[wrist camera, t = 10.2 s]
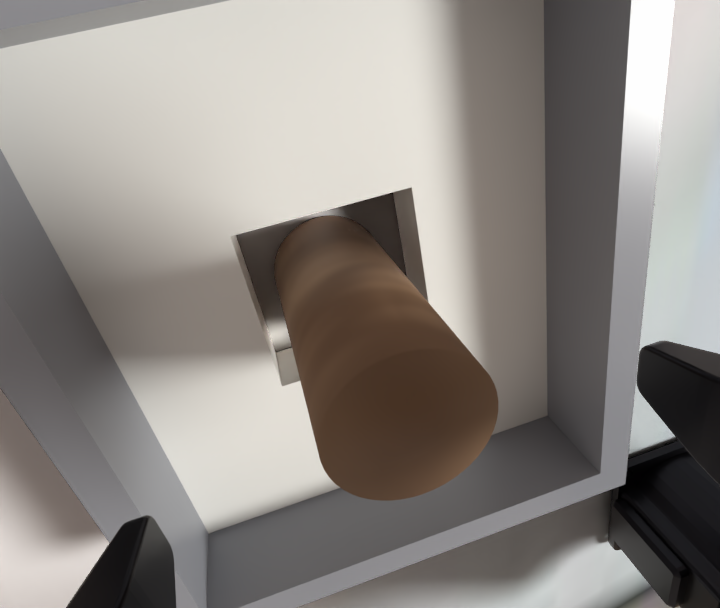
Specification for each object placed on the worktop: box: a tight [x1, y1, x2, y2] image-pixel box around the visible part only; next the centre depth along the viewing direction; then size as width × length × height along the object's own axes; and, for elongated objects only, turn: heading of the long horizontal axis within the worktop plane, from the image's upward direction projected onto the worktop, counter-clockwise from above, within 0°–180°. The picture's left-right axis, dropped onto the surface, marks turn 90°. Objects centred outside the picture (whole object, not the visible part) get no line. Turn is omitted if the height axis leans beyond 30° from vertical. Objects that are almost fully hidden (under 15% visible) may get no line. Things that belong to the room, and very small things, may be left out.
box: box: [0, 0, 675, 608], centre depth 14 cm, size 15×17×5 cm
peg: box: [274, 216, 498, 501], centre depth 13 cm, size 4×4×8 cm
